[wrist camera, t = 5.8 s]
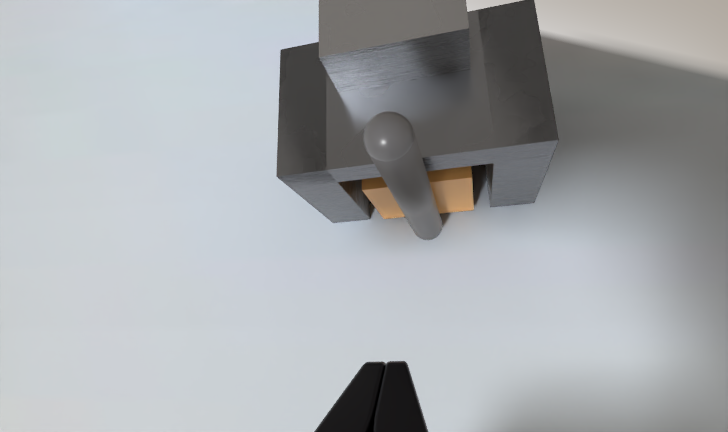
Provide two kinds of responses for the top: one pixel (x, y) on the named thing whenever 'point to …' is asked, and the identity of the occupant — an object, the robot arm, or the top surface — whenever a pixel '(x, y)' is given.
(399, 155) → the plug
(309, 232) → the top surface
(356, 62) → the housing
